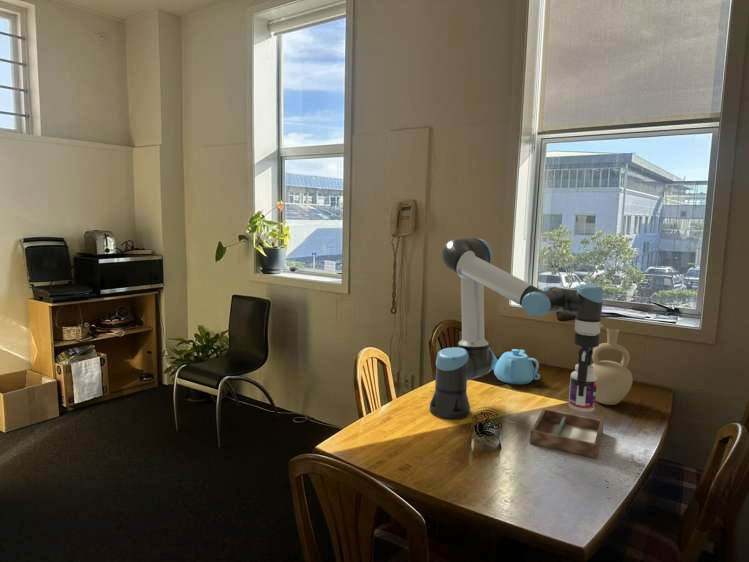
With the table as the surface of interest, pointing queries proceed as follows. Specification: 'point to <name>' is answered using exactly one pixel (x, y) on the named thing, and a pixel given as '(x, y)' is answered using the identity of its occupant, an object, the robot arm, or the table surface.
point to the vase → (611, 372)
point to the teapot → (515, 368)
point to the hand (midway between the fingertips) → (582, 400)
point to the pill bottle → (590, 390)
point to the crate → (568, 433)
